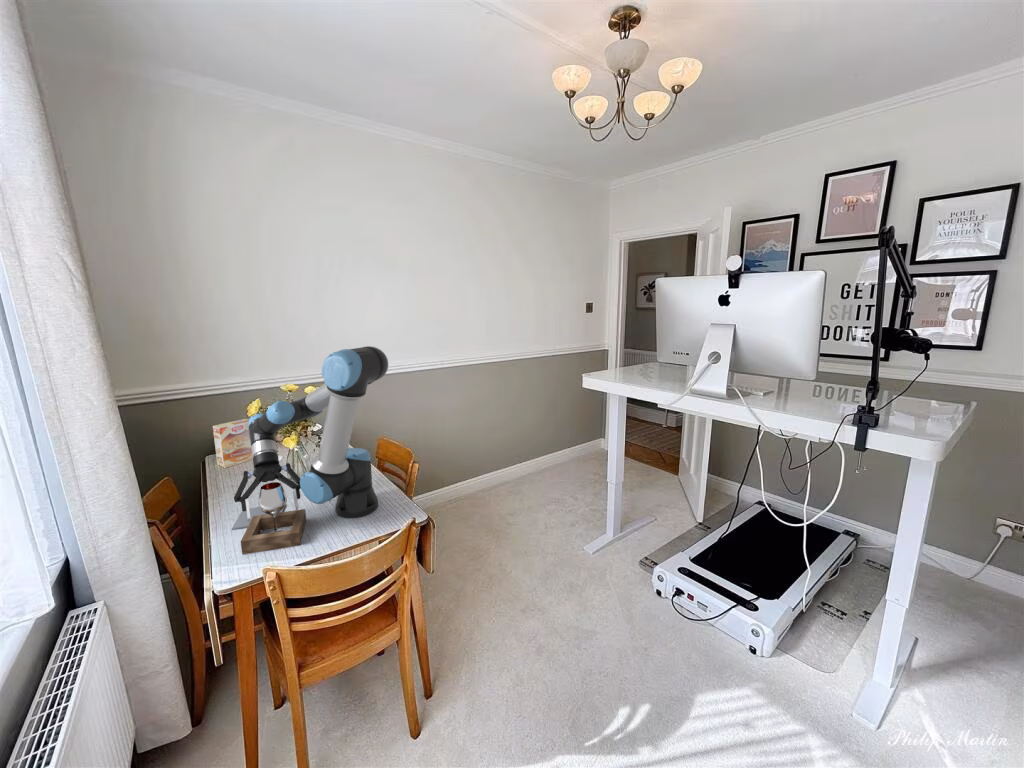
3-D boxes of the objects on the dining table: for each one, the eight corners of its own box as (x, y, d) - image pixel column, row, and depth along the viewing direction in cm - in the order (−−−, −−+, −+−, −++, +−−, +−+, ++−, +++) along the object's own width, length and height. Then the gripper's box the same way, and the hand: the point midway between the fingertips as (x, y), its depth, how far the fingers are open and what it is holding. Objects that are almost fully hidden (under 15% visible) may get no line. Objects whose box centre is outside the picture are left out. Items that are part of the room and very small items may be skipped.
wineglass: (295, 529, 142) (290, 480, 138) (282, 543, 134) (277, 491, 130) (270, 529, 142) (265, 480, 138) (257, 543, 134) (250, 491, 130)
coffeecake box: (224, 468, 192) (219, 428, 188) (217, 465, 196) (211, 425, 192) (257, 458, 205) (253, 420, 201) (250, 455, 208) (245, 418, 204)
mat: (285, 505, 159) (285, 503, 159) (278, 523, 146) (278, 521, 146) (243, 510, 154) (242, 509, 154) (232, 530, 141) (231, 528, 141)
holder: (306, 520, 148) (305, 508, 147) (299, 545, 133) (298, 532, 132) (254, 528, 143) (253, 516, 142) (242, 554, 128) (240, 541, 127)
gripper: (304, 453, 153) (315, 507, 144) (222, 468, 139) (228, 529, 130) (305, 444, 148) (316, 499, 139) (220, 458, 134) (226, 521, 125)
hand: (273, 514), depth 134 cm, fingers open, 13 cm apart
